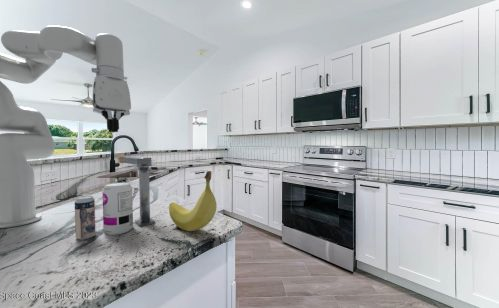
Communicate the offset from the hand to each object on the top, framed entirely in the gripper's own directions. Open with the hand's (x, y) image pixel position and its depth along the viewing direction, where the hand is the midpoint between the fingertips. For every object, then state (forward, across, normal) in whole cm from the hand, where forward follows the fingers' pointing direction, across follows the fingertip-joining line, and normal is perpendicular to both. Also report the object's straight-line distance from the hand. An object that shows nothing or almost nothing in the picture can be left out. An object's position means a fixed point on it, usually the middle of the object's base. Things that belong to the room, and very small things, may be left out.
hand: (113, 131), depth 73 cm
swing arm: (+12, +9, +7) cm, 16 cm away
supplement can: (+32, -1, -3) cm, 32 cm away
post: (+32, +8, -4) cm, 33 cm away
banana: (+33, +13, -22) cm, 41 cm away
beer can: (+32, -9, -1) cm, 33 cm away
